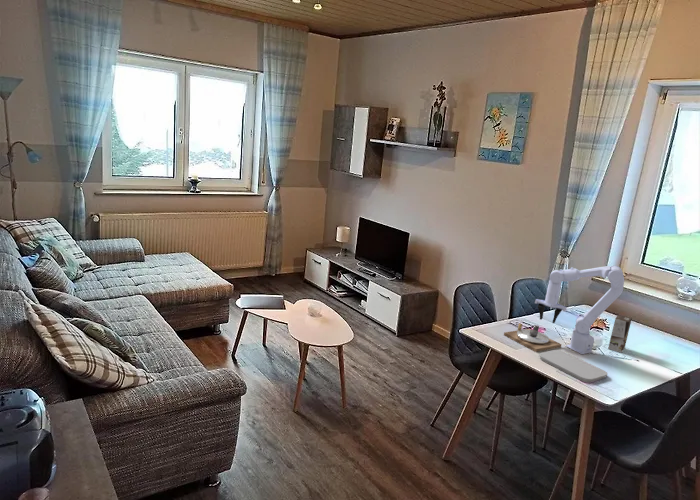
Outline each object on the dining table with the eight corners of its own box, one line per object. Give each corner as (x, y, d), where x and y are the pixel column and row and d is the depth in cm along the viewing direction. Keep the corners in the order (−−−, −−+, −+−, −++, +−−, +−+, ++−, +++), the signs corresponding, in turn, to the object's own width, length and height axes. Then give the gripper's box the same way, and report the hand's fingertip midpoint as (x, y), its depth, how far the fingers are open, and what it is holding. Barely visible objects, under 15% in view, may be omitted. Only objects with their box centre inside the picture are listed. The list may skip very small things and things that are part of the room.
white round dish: (555, 342, 245) (557, 333, 244) (534, 345, 238) (535, 337, 237) (531, 330, 258) (532, 322, 257) (510, 333, 250) (511, 325, 249)
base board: (560, 347, 244) (563, 336, 243) (535, 351, 236) (537, 341, 234) (528, 331, 261) (530, 321, 260) (503, 335, 252) (505, 324, 251)
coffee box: (621, 353, 245) (629, 322, 241) (607, 348, 249) (614, 318, 245) (625, 348, 252) (632, 317, 248) (611, 343, 256) (618, 314, 252)
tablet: (557, 353, 238) (558, 348, 237) (609, 378, 216) (610, 373, 216) (535, 358, 229) (536, 353, 229) (586, 385, 208) (587, 380, 207)
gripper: (535, 292, 246) (530, 318, 249) (566, 300, 238) (560, 327, 241) (539, 289, 252) (534, 315, 255) (569, 297, 244) (564, 323, 247)
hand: (547, 320), depth 248 cm, fingers open, 5 cm apart
